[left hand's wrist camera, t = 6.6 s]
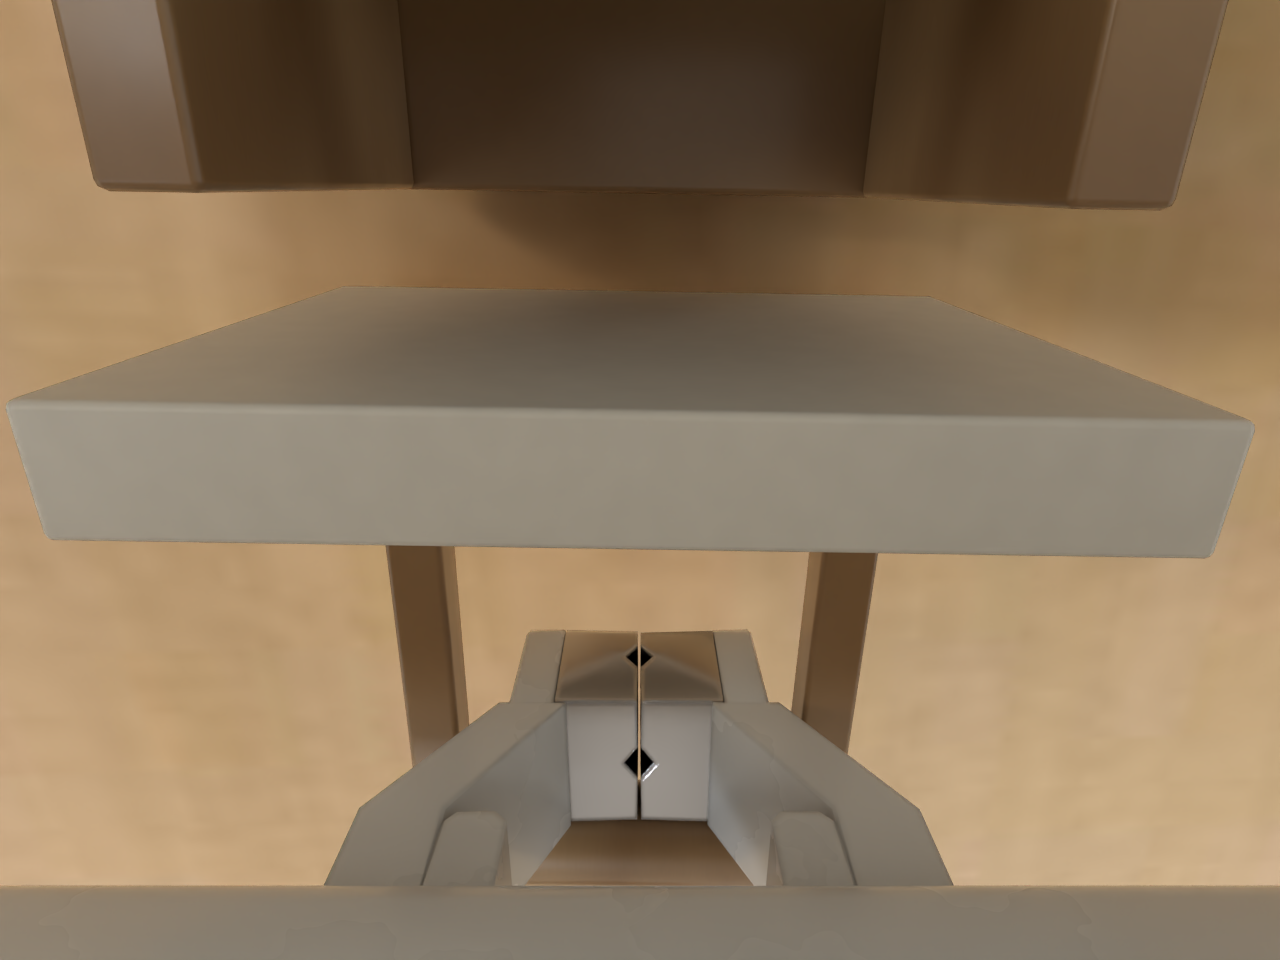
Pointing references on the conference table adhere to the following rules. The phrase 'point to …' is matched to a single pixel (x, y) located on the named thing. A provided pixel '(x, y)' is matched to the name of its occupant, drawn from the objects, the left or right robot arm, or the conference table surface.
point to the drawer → (637, 312)
